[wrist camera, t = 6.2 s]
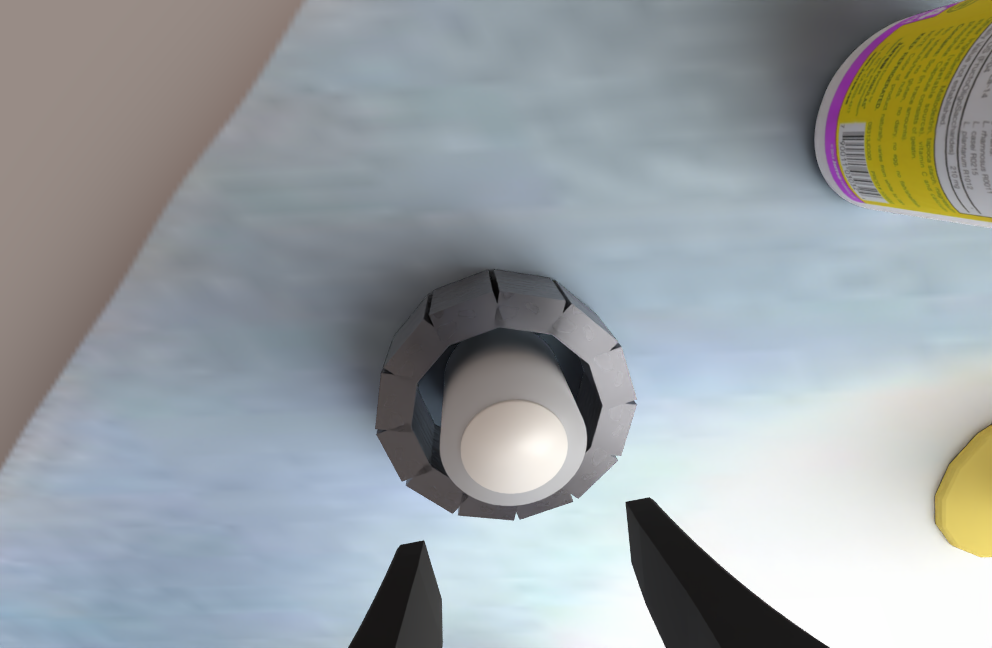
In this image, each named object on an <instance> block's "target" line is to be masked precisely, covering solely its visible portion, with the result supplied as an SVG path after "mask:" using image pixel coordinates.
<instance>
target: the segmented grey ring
mask: <svg viewBox="0 0 992 648" xmlns="http://www.w3.org/2000/svg"><path fill="white" fill-rule="evenodd" d="M499 327H501V328H508V329H516V330H523V331H530V332H537V333H544V334H551V335H553V336H554V337H555V338H556V339H558V340H559V341H560V342H562V343H563V344H564V345H565V346H567V347H568V348H569V349H570V350H572V351H573V352H574V353H576V354H577V355H578V356H579V358H580V361H581V364H582V367H583V370H584V372H583V376H582V380H581V383H580V387H579V391H578V395H577V399H576V405H577V407H578V409H579V411H580V414H581V416H582V418H583V420H584V424H585V427H586V433H587V446H586V452H585V455H584V458H583V461H582V463H581V465H580V467H579V469H578V470H577V472H576V473H575V475H574V476H573V477H572V478H571V480H570V481H569V482H568V483H567V484H566V485H564V486H563V487H562V488H561V489H559V490H558V491H557V492H555V493H554V494H552V495H550V496H548V497H546V498H544V499H541V500H539V501H536V502H533V503H529V504H524V505H516V506H501V505H493V504H489V503H485V502H482V501H480V500H477V499H475V498H473V497H471V496H469V495H468V494H466V493H465V492H463V491H462V490H461V489H459V488H458V487H457V486H456V485H455V484H454V483H453V481H452V480H451V479H450V478H449V476H448V474H447V473H446V471H445V469H444V466H443V464H442V460H441V456H440V434H441V428H440V427H438V426H437V425H435V424H434V422H433V420H432V418H431V416H430V414H429V412H428V410H427V408H426V405H425V403H424V401H423V399H422V397H421V395H420V393H419V391H418V383H419V380H420V379H421V378H422V377H423V376H424V375H425V373H426V372H427V371H428V370H429V369H430V368H431V366H432V365H433V364H434V363H435V362H436V361H437V359H438V358H439V357H440V356H441V355H442V354H443V352H444V351H445V350H446V349H447V348H448V347H449V345H452V344H455V343H458V342H460V341H463V340H466V339H469V338H471V337H474V336H477V335H480V334H482V333H485V332H488V331H490V330H493V329H496V328H499ZM636 399H637V398H636V394H635V391H634V388H633V384H632V381H631V377H630V374H629V370H628V367H627V364H626V360H625V357H624V353H623V350H622V347H621V345H620V344H619V343H618V341H617V340H616V338H615V337H614V336H613V335H612V333H611V332H610V331H609V330H608V328H607V327H606V326H605V324H604V323H603V322H602V321H601V319H600V318H599V317H598V316H597V314H596V313H594V312H593V311H592V310H591V309H589V308H588V307H587V306H586V305H585V304H583V303H582V302H581V301H580V300H579V299H577V298H576V297H575V296H574V295H573V294H571V293H570V292H569V291H568V290H567V289H565V288H564V287H563V286H562V285H561V284H559V283H558V282H557V281H555V282H554V283H553V281H552V280H551V278H547V277H540V276H534V275H528V274H521V273H515V272H508V271H502V270H495V269H494V272H493V277H492V279H491V277H490V274H489V272H488V270H486V271H484V272H481V273H478V274H476V275H473V276H470V277H467V278H465V279H462V280H459V281H457V282H454V283H451V284H449V285H446V286H443V287H441V288H438V289H435V290H433V296H431V295H430V294H428V295H427V296H426V298H425V299H424V300H423V301H422V302H421V304H420V305H419V306H418V307H417V309H416V310H415V311H414V312H413V313H412V315H411V316H410V317H409V318H408V320H407V321H406V322H405V323H404V324H403V326H402V327H401V328H400V329H399V331H398V332H397V333H396V334H395V335H394V338H393V341H392V343H391V346H390V349H389V352H388V354H387V357H386V360H385V363H384V366H383V369H382V372H381V379H380V388H379V398H378V407H377V417H376V426H375V429H378V431H377V434H376V435H377V436H378V438H379V440H380V442H381V444H382V446H383V448H384V449H385V451H386V453H387V455H388V457H389V459H390V460H391V462H392V464H393V466H394V468H395V470H396V472H397V473H398V475H399V477H400V479H401V481H405V480H407V481H406V486H407V487H409V488H411V489H412V490H414V491H416V492H417V493H419V494H421V495H422V496H424V497H426V498H427V499H429V500H431V501H432V502H434V503H436V504H437V505H439V506H441V507H442V508H444V509H446V510H447V511H449V512H451V513H452V514H453V513H454V512H455V511H456V510H457V509H458V515H459V516H470V517H481V518H492V519H503V520H514V518H515V514H516V512H517V514H518V517H519V519H520V520H521V519H524V518H526V517H529V516H532V515H535V514H538V513H541V512H544V511H547V510H550V509H553V508H556V507H559V506H562V505H565V504H568V503H571V502H573V499H572V496H571V494H572V495H574V496H575V497H576V498H579V497H580V496H582V495H583V494H584V493H585V492H586V491H587V490H588V489H589V488H590V487H591V486H592V485H593V484H594V483H595V482H596V481H597V480H598V479H599V478H600V477H601V476H602V475H603V474H605V473H606V472H607V471H608V470H609V469H610V468H611V467H612V466H613V465H614V464H615V463H616V462H617V461H618V460H617V458H616V456H615V455H617V456H621V454H622V451H623V448H624V445H625V441H626V438H627V435H628V432H629V428H630V425H631V422H632V419H633V416H634V412H635V409H636V406H637V404H636V403H635V402H634V400H636Z"/></svg>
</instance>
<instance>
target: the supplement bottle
mask: <svg viewBox="0 0 992 648" xmlns="http://www.w3.org/2000/svg"><path fill="white" fill-rule="evenodd" d="M814 142H815V153H816V159H817V162H818V165H819V168H820V171H821V173H822V175H823V177H824V178H825V180H826V182H827V183H828V185H829V186H830V187H831V188H832V189H833V190H834V191H835V192H836V193H837V194H838V195H839V196H841V197H842V198H843V199H845V200H846V201H848V202H850V203H852V204H854V205H857V206H860V207H863V208H867V209H872V210H878V211H884V212H890V213H896V214H902V215H909V216H916V217H922V218H929V219H935V220H941V221H948V222H954V223H961V224H967V225H973V226H980V227H986V228H992V0H964V1H960V2H957V3H953V4H950V5H947V6H943V7H940V8H936V9H933V10H929V11H926V12H923V13H920V14H917V15H914V16H911V17H908V18H905V19H902V20H900V21H897V22H895V23H893V24H891V25H889V26H887V27H885V28H883V29H882V30H880V31H879V32H877V33H875V34H874V35H873V36H871V37H870V38H869V39H867V40H866V41H865V42H864V43H862V44H861V45H860V46H859V47H858V48H857V49H856V50H854V51H853V53H852V54H851V55H850V56H849V57H848V58H847V59H846V60H845V62H844V63H843V64H842V65H841V66H840V68H839V69H838V71H837V72H836V74H835V75H834V77H833V78H832V80H831V82H830V83H829V85H828V87H827V90H826V92H825V95H824V97H823V100H822V103H821V105H820V108H819V112H818V116H817V120H816V126H815V137H814Z"/></svg>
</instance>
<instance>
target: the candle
mask: <svg viewBox="0 0 992 648" xmlns="http://www.w3.org/2000/svg"><path fill="white" fill-rule="evenodd" d="M935 523H936V525H937V526H938V528H939V529H940V530H941V532H942V533H943V535H944V536H945V538H946V539H947V540H948V542H949V543H950V544H951V545H952V546H954V547H957V548H959V549H962V550H964V551H966V552H969V553H971V554H974V555H976V556H979V557H992V425H990V426H989V427H987V428H985V429H984V430H982V431H981V432H979V433H978V434H977V435H976V436H975V437H974V438H973V439H972V440H971V441H970V442H969V443H968V444H967V446H966V447H965V448H964V449H963V450H962V451H961V452H960V453H959V454H958V455H957V457H956V458H955V459H954V460H953V461H952V462H951V463H950V464H949V466H948V468H947V471H946V473H945V475H944V477H943V479H942V482H941V484H940V486H939V488H938V490H937V493H936V495H935Z"/></svg>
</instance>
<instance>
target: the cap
mask: <svg viewBox="0 0 992 648" xmlns="http://www.w3.org/2000/svg"><path fill="white" fill-rule="evenodd" d="M586 446H587V433H586V427H585V424H584V420H583V418H582V416H581V414H580V411H579V409H578V407H577V405H576V402H575V400H574V398H573V395H572V393H571V391H570V389H569V386H568V384H567V382H566V380H565V377H564V375H563V373H562V371H561V368H560V366H559V364H558V362H557V359H556V357H555V355H554V353H553V351H552V350H551V348H550V347H549V345H548V344H547V343H546V342H545V341H544V340H543V339H542V338H540V337H539V336H538V335H536V334H535V333H533V332H530V331H523V330H516V329H508V328H501V327H499V328H496V329H493V330H490V331H488V332H485V333H482V334H480V335H477V336H474V337H471V338H469V339H466V340H463V341H462V342H460V344H459V345H458V346H457V347H456V348H455V349H454V351H453V352H452V354H451V356H450V358H449V359H448V362H447V365H446V369H445V375H444V390H443V404H442V419H441V434H440V456H441V460H442V464H443V466H444V469H445V471H446V473H447V474H448V476H449V478H450V479H451V480H452V481H453V483H454V484H455V485H456V486H457V487H458V488H459V489H461V490H462V491H463V492H465V493H466V494H468V495H469V496H471V497H473V498H475V499H477V500H480V501H482V502H485V503H489V504H493V505H501V506H516V505H524V504H529V503H533V502H536V501H539V500H541V499H544V498H546V497H548V496H550V495H552V494H554V493H555V492H557V491H558V490H559V489H561V488H562V487H563V486H564V485H566V484H567V483H568V482H569V481H570V480H571V478H572V477H573V476H574V475H575V473H576V472H577V470H578V469H579V467H580V465H581V463H582V461H583V458H584V455H585V452H586Z"/></svg>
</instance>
